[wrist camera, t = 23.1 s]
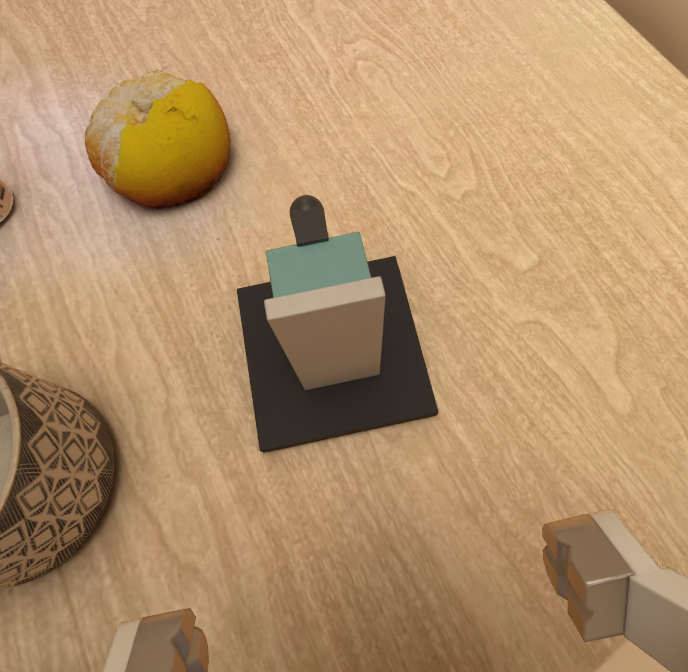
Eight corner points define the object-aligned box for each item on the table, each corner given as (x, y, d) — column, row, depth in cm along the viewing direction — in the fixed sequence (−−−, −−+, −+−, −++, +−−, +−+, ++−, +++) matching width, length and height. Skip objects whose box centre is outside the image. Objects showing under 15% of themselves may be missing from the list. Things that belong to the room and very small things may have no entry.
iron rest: (436, 415, 33) (438, 412, 32) (263, 452, 33) (259, 451, 32) (394, 261, 37) (395, 255, 36) (239, 294, 37) (236, 288, 36)
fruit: (205, 85, 43) (185, 19, 35) (255, 189, 43) (246, 147, 35) (84, 130, 42) (35, 73, 34) (134, 239, 42) (96, 207, 34)
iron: (379, 374, 33) (385, 295, 21) (304, 390, 33) (266, 320, 21) (356, 278, 36) (350, 156, 23) (287, 292, 35) (244, 178, 23)
